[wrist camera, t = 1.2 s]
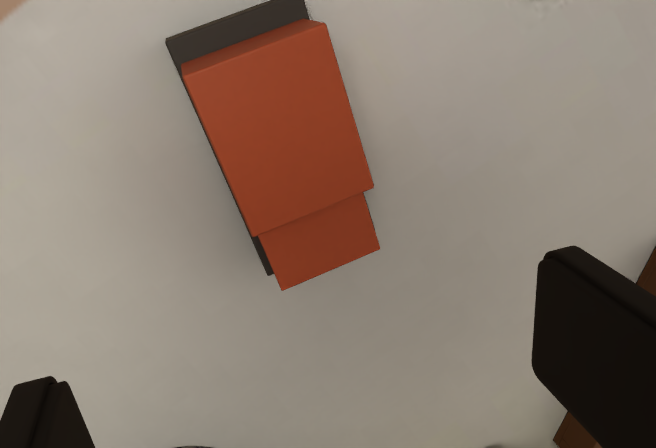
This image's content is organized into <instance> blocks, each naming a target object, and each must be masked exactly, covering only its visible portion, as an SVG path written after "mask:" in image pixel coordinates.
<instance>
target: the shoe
mask: <svg viewBox="0 0 656 448" xmlns="http://www.w3.org/2000/svg"><path fill="white" fill-rule="evenodd" d="M165 43H166V46H167V48H168V50H169V53H170V55H171V57H172V59H173V62H174V64H175V66H176V68H177V71H178V73H179V75H180V78H181V80H182V82H183V84H184V87H185V89H186V91H187V93H188V96H189V98H190V100H191V103H192V105H193V107H194V109H195V112H196V114H197V116H198V118H199V121H200V123H201V125H202V128H203V130H204V132H205V134H206V137H207V139H208V141H209V143H210V146H211V148H212V150H213V153H214V155H215V157H216V159H217V162H218V164H219V166H220V168H221V171H222V173H223V175H224V178H225V180H226V182H227V184H228V187H229V189H230V191H231V193H232V196H233V198H234V200H235V203H236V205H237V207H238V209H239V212H240V214H241V216H242V219H243V221H244V223H245V225H246V228H247V230H248V232H249V234H250V237H251V239H252V241H253V244H254V246H255V248H256V250H257V253H258V255H259V257H260V259H261V262H262V264H263V266H264V269H265V271H266V273H267V275H268V276H270V275H272V274H275V276H276V279H277V281H278V283H279V286H280V288H281V290H282V291H283V290H286V289H288V288H290V287H293V286H295V285H297V284H300V283H302V282H304V281H307V280H309V279H311V278H314V277H316V276H318V275H321V274H323V273H325V272H328V271H330V270H332V269H335V268H337V267H339V266H342V265H344V264H346V263H349V262H351V261H353V260H356V259H358V258H360V257H363V256H365V255H367V254H370V253H372V252H374V251H377V250H379V249H380V246H379V243H378V240H377V236H376V233H375V229H374V225H373V222H372V219H371V216H370V213H369V209H368V206H367V203H366V200H365V196H364V193H363V192H364V191H367V190H369V189H372V188H373V187H374V184H373V181H372V178H371V174H370V171H369V167H368V164H367V161H366V157H365V154H364V151H363V147H362V144H361V141H360V137H359V134H358V130H357V127H356V124H355V120H354V117H353V114H352V110H351V107H350V104H349V100H348V97H347V93H346V90H345V87H344V83H343V80H342V77H341V73H340V70H339V67H338V63H337V60H336V56H335V53H334V50H333V46H332V43H331V40H330V36H329V33H328V30H327V26H326V24H325V23H322V22H317V21H313V20H310V19H309V16H308V12H307V9H306V6H305V3H304V0H270V1H267V2H264V3H262V4H259V5H256V6H253V7H251V8H248V9H245V10H242V11H240V12H237V13H234V14H231V15H229V16H226V17H223V18H221V19H218V20H215V21H212V22H210V23H207V24H204V25H201V26H199V27H196V28H193V29H190V30H188V31H185V32H182V33H180V34H177V35H174V36H171V37H169V38H166V41H165Z"/></svg>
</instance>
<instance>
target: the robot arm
mask: <svg viewBox="0 0 656 448" xmlns="http://www.w3.org/2000/svg"><path fill="white" fill-rule="evenodd" d="M532 367H533V370H534V373H535V375H536V376H537V378H538V379H539V380H540V381H541V382H542V384H543V385H544V386H545V387H546V388H547V389H548V390H549V391H550V392H551V393H552V394H553V395H554V396H555V397H556V399H557V400H558V401H559V402H560V403H561V404H562V405H563V406H564V407H565V408H566V409H567V410H568V411H569V412H570V413H571V415H572V416H573V417H574V418H575V419H576V420H577V421H578V422H579V423H580V424H581V425H582V426H583V427H584V428H585V430H586V431H587V432H588V433H589V434H590V435H591V436H592V437H593V438H594V439H595V440H596V441H597V442H598V443H599V444H600V446H601V447H602V448H656V296H654V295H653V294H651V293H649V292H648V291H646V290H645V289H643V288H642V287H640V286H639V285H637V284H635V283H634V282H632V281H631V280H629V279H628V278H626V277H625V276H623V275H621V274H620V273H618V272H617V271H615V270H614V269H612V268H610V267H609V266H607V265H606V264H604V263H603V262H601V261H600V260H598V259H596V258H595V257H593V256H592V255H590V254H589V253H587V252H585V251H584V250H582V249H581V248H579V247H577V246H569V247H565V248H561V249H557V250H553V251H549V252H547V253H546V254H545V256H544V259H543V260H542V261H540V263H539V264H538V272H537V287H536V303H535V318H534V333H533V348H532ZM0 448H95V446H94V444H93V441H92V439H91V436H90V434H89V432H88V429H87V427H86V424H85V422H84V420H83V417H82V415H81V412H80V410H79V408H78V405H77V403H76V400H75V398H74V396H73V393H72V391H71V388H70V386H69V384H68V383H67V382H66V381H63V382H59V383H57V381H56V379H55V378H54V377H52V376H48V377H44V378H40V379H36V380H32V381H28V382H24V383H20V384H17V385H15V386H14V388H13V390H12V392H11V394H10V397H9V400H8V402H7V405H6V407H5V410H4V412H3V415H2V418H1V420H0Z"/></svg>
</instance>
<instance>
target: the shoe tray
mask: <svg viewBox="0 0 656 448" xmlns="http://www.w3.org/2000/svg"><path fill="white" fill-rule="evenodd" d="M636 284H637V285H639V286H640V287H642V288H643V289H645V290H646V291H648V292H649V293H651V294H653V295H654V296H656V248H655V249H654V251H653V253H652V255H651V257H650V259H649V261H648V263H647V265H646V266H645V268H644V270H643V272H642V274H641V276H640V278H639V280H638V281H637V283H636ZM553 441H554V442H555V443H556V444H557V445H558V446H559V448H602V447H601V446H600V444H599V443H598V442H597V441H596V440H595V439H594V438H593V437H592V436H591V435H590V434H589V433H588V432H587V431H586V430H585V428H584V427H583V426H582V425H581V424H580V423H579V422H578V421H577V420H576V419H575V418H574V417H573V416H572V415H571V413H570V412H569V411H568V413H567V415H566V417H565V419H564V421H563V422H562V424H561V426H560V428H559V430H558V432H557V434H556V436H555V438H554V439H553Z"/></svg>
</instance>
